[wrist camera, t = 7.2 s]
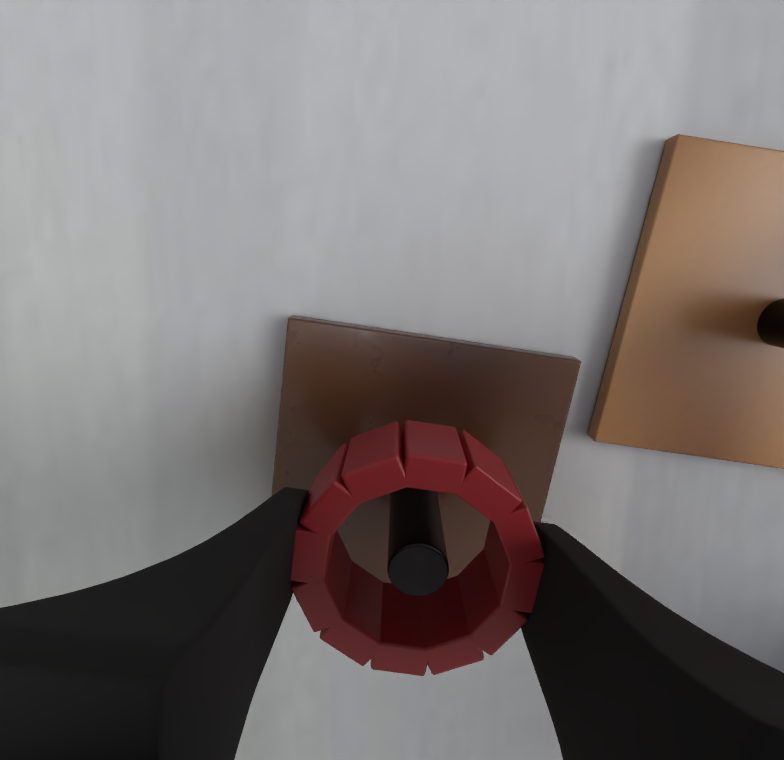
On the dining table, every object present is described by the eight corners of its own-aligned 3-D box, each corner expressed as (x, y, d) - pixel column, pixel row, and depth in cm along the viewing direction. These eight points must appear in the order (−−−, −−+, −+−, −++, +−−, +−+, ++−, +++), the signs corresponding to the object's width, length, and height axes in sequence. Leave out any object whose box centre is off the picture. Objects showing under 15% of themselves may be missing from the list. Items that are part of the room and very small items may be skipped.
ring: (539, 437, 12) (570, 476, 10) (495, 620, 13) (513, 689, 11) (320, 406, 12) (303, 439, 10) (298, 594, 13) (280, 658, 11)
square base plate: (575, 356, 15) (671, 412, 10) (515, 597, 17) (566, 748, 12) (291, 314, 15) (231, 348, 10) (268, 563, 17) (209, 702, 12)
